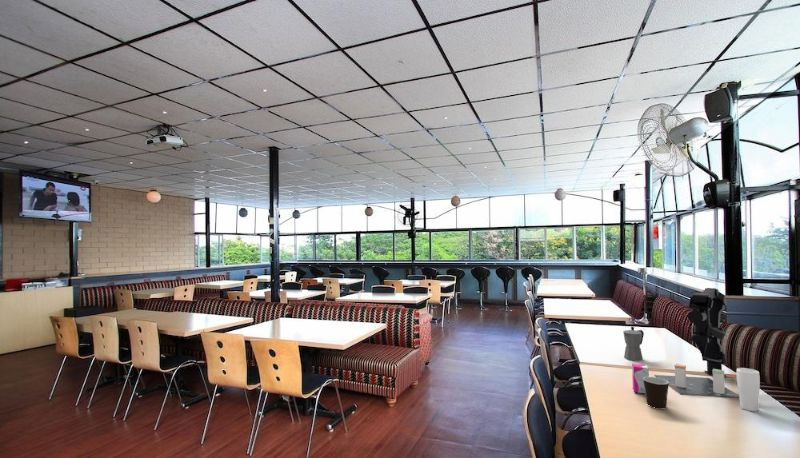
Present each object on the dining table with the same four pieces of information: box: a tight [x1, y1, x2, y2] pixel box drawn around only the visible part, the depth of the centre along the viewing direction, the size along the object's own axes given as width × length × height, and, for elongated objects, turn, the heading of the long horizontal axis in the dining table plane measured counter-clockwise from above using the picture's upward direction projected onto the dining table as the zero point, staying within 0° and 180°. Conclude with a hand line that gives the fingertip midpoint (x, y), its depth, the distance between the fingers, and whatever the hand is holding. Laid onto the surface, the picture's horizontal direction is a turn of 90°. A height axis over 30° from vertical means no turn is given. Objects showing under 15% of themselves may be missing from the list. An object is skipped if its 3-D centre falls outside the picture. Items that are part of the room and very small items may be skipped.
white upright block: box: [712, 369, 726, 394], centre depth 167 cm, size 3×4×9 cm
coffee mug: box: [643, 376, 669, 409], centre depth 156 cm, size 12×9×10 cm
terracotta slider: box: [674, 363, 687, 388], centre depth 174 cm, size 3×4×9 cm
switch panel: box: [653, 374, 740, 399], centre depth 176 cm, size 24×24×1 cm
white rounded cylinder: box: [736, 367, 761, 413], centre depth 152 cm, size 7×7×15 cm
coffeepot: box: [622, 326, 645, 362], centre depth 219 cm, size 15×9×18 cm, turn 113°
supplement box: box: [631, 363, 650, 395], centre depth 170 cm, size 6×6×12 cm
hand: (703, 354), depth 181 cm, fingers closed
